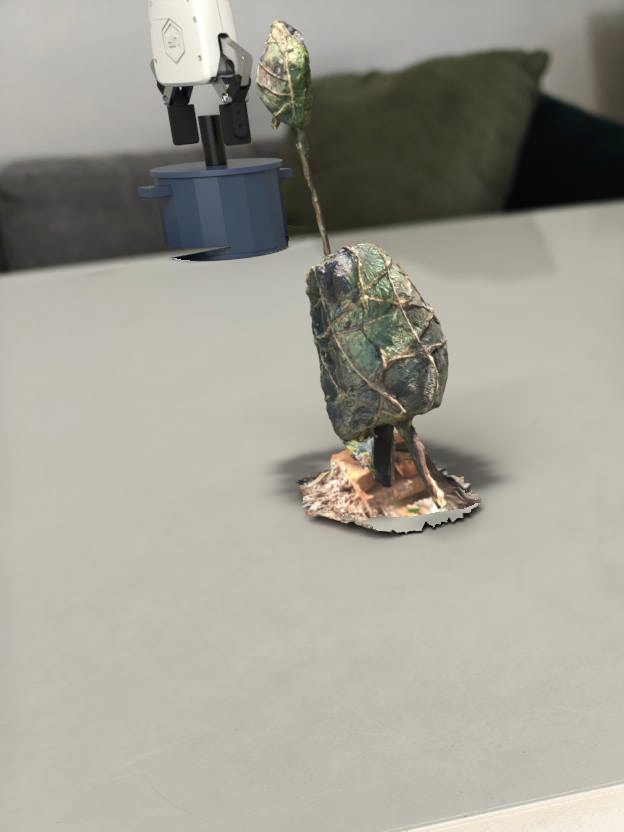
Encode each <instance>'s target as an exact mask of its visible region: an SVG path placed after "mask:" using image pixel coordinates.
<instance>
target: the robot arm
mask: <svg viewBox="0 0 624 832" xmlns="http://www.w3.org/2000/svg"><path fill="white" fill-rule="evenodd" d="M147 12H148V14H147V15H148V25H149V36H150V43H151V44H150V45H151V51H152V60H151V61H150V63H149V65H150V66H149V67H150V70H151V72H152V74H153V76H154V78H155V81H156V87H157V89H158V91H159V92H160V94H161V95H162V103H163V105H164V106H165V107H166V109H167V115H168V122H169V127H170V133H171V140H172V143H173V146H186V145H195V144H199V143H200V140H201V138H200V132H199V126H198V119H197V114H196V109H195V104H194V103H190V101H191V97H192V94H193V90H194V87H197V86H204V85H212V87H213V89H214V91H215V92H216V94H217V95H218V97H219V99H220V101H221V102H222V103H221V104H218V111H219V115H220V119H221V126H222V132H223V139H224V145H225V147H234V146H240V145H249V144H251V143H252V134H251V133H252V132H251V126H250V120H249V119H250V118H249V111H248V106H247V103H248V102H249V100H250V94H249V90H250V88H251V86H252V78H251V75H252V69H253V63H254V62H253V61H254V60H253V56H252V54H251V53H249V52H248V50H246V49H244V48H243V47H242V46H241V45H240V44H239V39H238V33H237V28H236V23H235V18H234V13H233V9H232V4H231V0H147ZM227 85H228V86H227Z"/></svg>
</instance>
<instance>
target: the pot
mask: <svg viewBox="0 0 624 832" xmlns="http://www.w3.org/2000/svg"><path fill="white" fill-rule="evenodd" d="M292 178H293V170H292V167H279V168H276V169H271V170H265V171H259V172H252V173H244V174H235V175H224V176H212V177H197V178H153V177H152V179H153V185H147V186H139V187H137V192H138V197H139V198H140V199H156V201H157V207H158V213H159V217H160V218H159V219H160V223H161V228H162V229H161V230H162V235H163V240H164V245H165V246H168V247H170V248H177V249H209V250H205V251H200V252H193V253H188V254H183V255H178V256H172V257H171V258H177V259H181V260H190V261H189V262H217V261H226V260H227V261H229V260H239V258H240V259H246V258H245V257H247V258H252V257H251V256H254V257H257V256H256V255H260V256H262V255H261V254H265V255H267V254H266V253H270V252H274V253H276V252H275V251H278V252H280V251H279V250H281V251H283V250H282V249H284V250H285V248H286V247H287V248H289V246H288V245H289V241H290V238H289V236H290V235H288V233H289V230H288V221H287V213H286V207H285V197H284V190H283V184H282V180H285V179H292ZM211 248H212V249H211ZM213 248H215V249H213ZM287 248H286V249H287ZM270 254H271V253H270Z"/></svg>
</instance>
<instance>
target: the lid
mask: <svg viewBox="0 0 624 832" xmlns="http://www.w3.org/2000/svg"><path fill="white" fill-rule="evenodd" d="M197 123H198V129H199V136H200V140H201V146H202V147H201V148H202V152H203V159H204V161H193V162H186V163H185V162H184V163H176V164H171V165H170V164H169V165H164V166H159V167H154V168H151V169H149V171H148V174H149V177H151V178H152V179H153V178H197V177H212V176H224V175H235V174H244V173H252V172H259V171H265V170H271V169H276V168H283V166H284V160H283V159H282V158H278V157H248V158H229V159H227V151H226V145H225V143H224V139H223V132H222V126H221V119H220V113H218V114H216V113H215V114H204V115H203V114H202V115H198V116H197Z"/></svg>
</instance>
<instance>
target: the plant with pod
mask: <svg viewBox="0 0 624 832" xmlns="http://www.w3.org/2000/svg"><path fill="white" fill-rule="evenodd" d="M269 26H270V30H269V37H268V38H267V39H266V41H265V42H264V43H263V49H262V54H261V56H260V58H259V61H258V66H257V69H256V80H255V81H256V83H255V84H256V90H257V95H258V98H259V99H260V101H261V102H262V103H263V105H264V106H265V108H266V109H267V111H268V112H269V113H271V116H272V118H271V122H270V127H271V128H272V130H274V131H275V130H277V129H278V128H279V127H280V125H281V123H282V124H285V125H286V126H288V127H290V129H291V132H292V136H293V140H294V143H295V147H296V149H297V152H298V154H299V157H300V160H301V161H300V162H301V166H302V170H303V174H304V178H305V181H306V183H307V185H308V188H309V190H310V194H311V196H310V197H311V204H312V207H313V209H314V211H315V214H316V217H315V218H316V222H317V224H318V225H317V227H318V231H319V234H320V236H321V241H322V250H323V255H324V256H322V258H323V259H322V261H321V262H320V263H317V264H316V265H312V266H311V267H310V268H309V269H308V273H306V275H305V283H306V286H307V287H306V289H305V290H304V291H305V295H306V296H307V297H308V300H309V316H310V318H311V326H310V327H311V331H312V335H313V344H314V346H315V347H316V352H317V355H318V356H317V357H318V361H319V372H320V376H319V382H320V388H321V390H322V392H323V395H324V398H323V400H324V402H325V403H326V406H325V410H326V413H327V416H328V419H329V421H330V423H331V426H332V429H333V433H334V434H335V435H336V436H337V437H338V438H339V440H340V441H341V442H342V444H343V445H344V446H345V447H346V449H344V450H343V451H340V452H338V453H333V454H332V455H331V458H330V463H329V464H330V469H323V472H322V471H321V472H320V471H319V472H318V473H317V475H309V474H308V475H306V476H305V477H304V476H302V477H300V479H297V481H294V482H295V483H297V484H298V485H297V488H298V489H299V491H301V493H302V494H301V497H302V502H301V504H303V505H302V506H301V507H300V509H302V508H307V507H309V508H308V510H307V511H305V515H307V516H310V517H317V516H319V517H323V518H327V519H330V520H335V521H338V522H340V523H345V524H348V523H350V522H354V524H355V525H356V526H361V528H362V529H364V528H366V529H367V530H371V531H374V532H376V533H379V532H378V531H377V530H376V529H373V526H372V525H370V524H365V523H362V522H361V521H363V520H369V519H371V517H376V516H386V517H399V516H402V517H412V516H417V515H422V514H430V513H435V512H444V511H450V510H454V509H464V508H467V507H469V506H472V505H474V504H475V503H480V504H482V499H481V498H480V497H479V496H478V493H473V490H471V486H470V483H468V482H464V481H465V479H464V478H465V476H456V475H454V474H452V475H449V474H448V471H447V469H446V467H443V468H440V467H439V468H438V467H437V466H438V465H437V462H436V461H433V460H432V458H431V457H430V455H429V454H428V453H427V452H426V451H425V449H426V448H425V446H424V444H423V443H422V442H421V440H419V438H418V437H419V436H418V434H419V433H417V431H416V428H415V426H414V425H413V423H412V422H413V420H414V419H415V417H416V416H422V415H426V414H427V413H429V412H431V411H433V410H435V409H439V408H440V407H441V405H442V401H443V399H444V393H445V390H446V387H447V382H448V377H449V376H448V375H449V365H450V364H449V363H450V362H449V352H448V342H447V340H448V338H447V337H446V335H445V334H444V331H443V329H442V325H441V321H440V320H439V318H438V317H437V316H436V315H435V310H434V309H433V306H432V305H431V304H430V303H428V302H427V301H425V299H424V298H423V297H422V296H421V293H420V292H419V291H418V289H417V287H416V286H415V285H414V282H413V281H412V280H411V279H410V278H409V274H407V273H406V272H405V270H404V268H403V266H401V264H400V263H398V262H396V261H394V260H393V259H392V257H391V256H389V254H388V252H387V251H386V250H384V249H382V248H380V247H379V246H376V245H375V244H374V243H372V242H362V243H361V242H359V243H357V244H355V245H351V246H350V245H349V246H347V245H344V246H343V247H341V248H340V249H338V250H335V251H333V252H332V251H331V246H330V240H329V237H328V233H327V230H326V229H327V228H326V224H325V220H324V214H323V211H322V207H321V203H320V200H319V196H318V193H317V190H316V187H315V184H314V182H313V176H312V172H311V169H310V168H311V167H310V161H309V157H310V156H309V152H310V145H309V142H308V140H307V134H306V132H305V131H304V129H303V128H304V127H305V126H309V125H310V122H311V121H312V118H313V104H314V95H313V91H312V90H313V89H312V71H311V66H310V64H311V62H310V53H309V50H308V48H307V46H306V43H305V41H304V38H303V34H302V32H301V31H300V30H298V29H296V28H295V27H293V26H292V25H291V24H289V23H287V22H286V21H285V20H282V19H276V20H274V21H273V22H272V23H271V25H269ZM395 429H396V431H397V432H395ZM463 490H465V492H464V491H463ZM466 490H467V491H466ZM469 492H471V494H467V493H469ZM477 498H479V499H477ZM475 499H477V500H475ZM344 515H347V516H348V515H350V516H351V517H352V518H354V517H355V519H351V518H350V519H348V520H346V519H341V517H342V516H344ZM357 520H358V521H357ZM359 521H360V522H359ZM368 526H370V528H367V527H368Z"/></svg>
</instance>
